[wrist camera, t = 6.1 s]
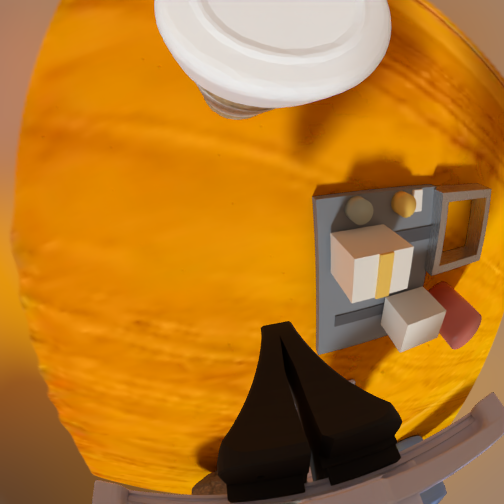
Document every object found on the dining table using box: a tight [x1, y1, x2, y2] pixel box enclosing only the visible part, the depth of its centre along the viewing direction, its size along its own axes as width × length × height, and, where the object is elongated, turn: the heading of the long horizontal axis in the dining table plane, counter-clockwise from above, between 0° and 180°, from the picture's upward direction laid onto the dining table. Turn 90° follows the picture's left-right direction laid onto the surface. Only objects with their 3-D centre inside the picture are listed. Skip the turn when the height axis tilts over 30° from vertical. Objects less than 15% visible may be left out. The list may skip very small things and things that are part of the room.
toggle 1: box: [330, 224, 414, 303], centre depth 17 cm, size 3×4×4 cm
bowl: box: [192, 471, 301, 504], centre depth 35 cm, size 21×21×10 cm
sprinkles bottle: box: [154, 0, 391, 120], centre depth 9 cm, size 5×5×13 cm
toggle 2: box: [381, 286, 446, 352], centre depth 21 cm, size 3×4×4 cm
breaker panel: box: [312, 184, 436, 355], centre depth 21 cm, size 15×11×2 cm
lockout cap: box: [429, 282, 481, 349], centre depth 22 cm, size 4×4×6 cm
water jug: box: [396, 436, 447, 504], centre depth 37 cm, size 16×16×28 cm
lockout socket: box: [424, 183, 491, 276], centre depth 20 cm, size 8×8×2 cm
